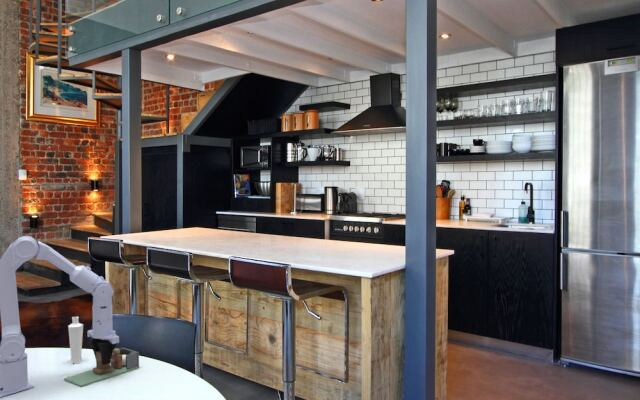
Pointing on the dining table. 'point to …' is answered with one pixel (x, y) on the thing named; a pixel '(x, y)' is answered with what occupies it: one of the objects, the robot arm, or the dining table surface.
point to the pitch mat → (95, 376)
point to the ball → (123, 360)
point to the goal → (130, 358)
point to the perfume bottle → (75, 340)
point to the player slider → (115, 362)
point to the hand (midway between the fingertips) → (103, 362)
